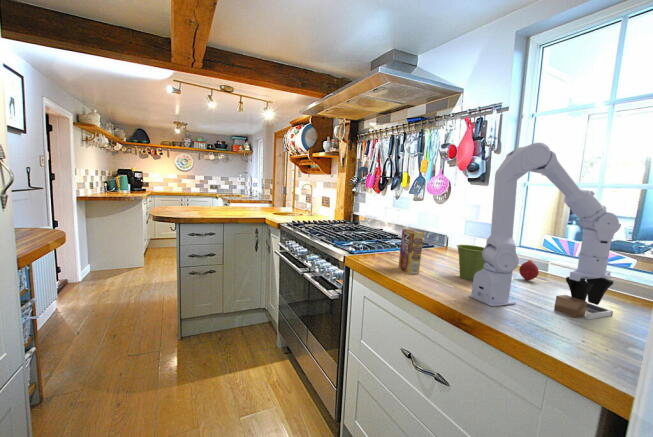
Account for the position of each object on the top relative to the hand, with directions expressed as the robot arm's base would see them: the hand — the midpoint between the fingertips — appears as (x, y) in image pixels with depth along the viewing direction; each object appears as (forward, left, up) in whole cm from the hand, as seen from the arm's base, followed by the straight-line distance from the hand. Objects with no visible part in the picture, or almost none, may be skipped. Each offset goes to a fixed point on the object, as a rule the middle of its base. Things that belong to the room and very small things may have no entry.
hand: (585, 304), depth 80 cm
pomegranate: (+12, +24, -2) cm, 27 cm away
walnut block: (-7, 0, -2) cm, 7 cm away
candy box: (-27, +42, -2) cm, 50 cm away
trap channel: (-1, 0, -2) cm, 2 cm away
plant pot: (-9, +30, -2) cm, 31 cm away
